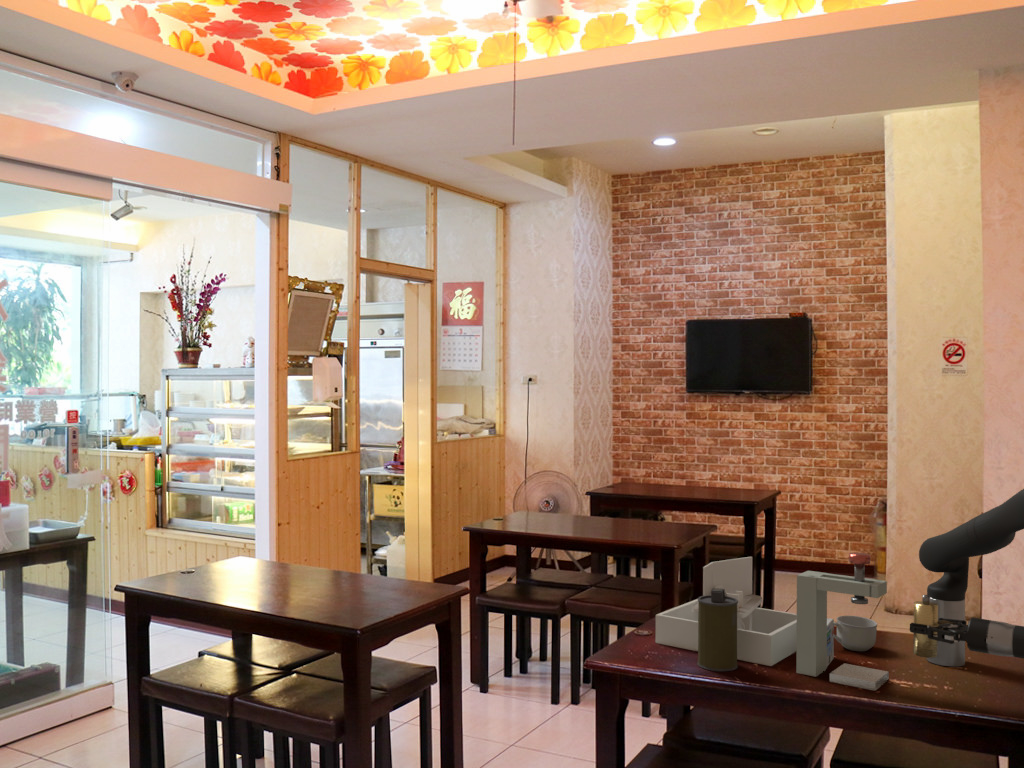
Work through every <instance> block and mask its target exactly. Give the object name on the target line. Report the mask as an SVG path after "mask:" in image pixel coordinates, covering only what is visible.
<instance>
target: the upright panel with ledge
mask: <svg viewBox="0 0 1024 768" xmlns="http://www.w3.org/2000/svg"><path fill="white" fill-rule="evenodd" d="M713 588H719V589H725V593H726V594H727V595H726V594H725V595H726V596H728V597H732V598H735V599H737V600H738V603H737V628H738V629H744V630H749V631H752V611H753V610H754V609H755V608H759V606H760V605H761V604H762V603H763V597H762V596H760V595H756V594H753V556H747V557H739V558H730V559H725V560H719V561H718V560H717V561H711V562H709V563H707V564H706V565H704V566H702V596H706V595H711V591H712V589H713ZM692 612H693V613H698V603H697V604H696V605H694V606H693V607H692Z"/></svg>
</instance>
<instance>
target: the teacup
mask: <svg viewBox="0 0 1024 768" xmlns="http://www.w3.org/2000/svg"><path fill="white" fill-rule="evenodd" d="M835 626H836V634H834V640H836V641H837V642H838V643H840V644H841V646H842V647H843V648H845V649H847V650H849V651H854V652H866V651H869V650H870V649H871V648H872V647H873V648H874V645H876V641H877V629H878V628H877V626H878V623H877V621H875V620H873V619H871V618H868V617H863V616H860V615H859V616H857V615H852V614H851V615H849V614H848V615H840V616H837V617H836V621H834V627H835Z"/></svg>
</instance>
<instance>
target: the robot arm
mask: <svg viewBox="0 0 1024 768" xmlns="http://www.w3.org/2000/svg"><path fill="white" fill-rule="evenodd" d="M1022 530H1024V488H1022V489H1020V490H1019V491H1017V492H1016V493H1015V494H1014V495H1013V496H1011V497H1009V498H1008V499H1007V500H1006V501H1004V502H1003V503H1001V504H1000V505H997V506H995V507H993V508H991V509H989V510H987V511H985V512H983V513H981V514H979V515H977V516H975V517H973V518H971V519H969V520H967V521H966V522H964V523H962V524H960V525H958V526H956V527H955V528H952V529H951V530H949V531H947V532H945V533H942V534H939V535H936V536H935V535H934V536H932V537H929V538H927V539H926V540H924V541H923V542H922V544H921V545H920V548H919V550H918V559H919V561H920V564H921V566H923V568H925V569H926V570H927V571H929V572H933V573H943V575H942V576H941V577H940V578H939V579H938V580H936V581H934V582H932V583H930V584H929V585H928V586H927V587H926V595H929V596H930V602H932V603H936V604H938V625H937V626H934V625H924V624H918V623H914V622H911V623H909V631H910V633H912V634H914V633H918V634H924V635H927V636H928V639H933V640H937V641H938V642H937V657H934V658H926V660H927V661H928V662H930V663H931V664H935V665H938V666H942V667H943V666H945V667H962V666H965V665H966V645H967V648H968V651H970V652H976V653H982V654H987V655H993V656H1000V657H1011V658H1012V657H1013V658H1018V659H1023V660H1024V625H1017V624H1011V623H1009V622H1005V621H997V620H991V619H986V618H985V619H984V618H978V617H970V619H969V620H968V623H967V621H966V594H967V593H966V592H967V590H968V586H969V585H968V583H969V571H970V570H969V568H970V567H969V566H970V558H973V557H974V558H975V557H980V556H985V555H988V554H992V553H995V552H997V551H999V550H1002V549H1004V548H1006V547H1007V546H1009V545H1010V544H1011V543H1012V542H1013V541H1014V540H1015V537H1016V533H1017V532H1019V531H1022ZM933 631H935V632H937V634H933Z"/></svg>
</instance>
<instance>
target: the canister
mask: <svg viewBox="0 0 1024 768" xmlns="http://www.w3.org/2000/svg"><path fill="white" fill-rule="evenodd" d="M725 594H726V593H725V589H719V588H713V589H712V591H711V595H706V596H703V595H701V596H698V597H697V599H698V651H697V663H696V664H697V667H700V668H701V669H704V670H707V671H712V672H730V671H734V670H736V669H738V667H739V665H738V659H737V603H738V600H737V599H735V598H732V597H728V596H726V595H727V594H726V595H725Z"/></svg>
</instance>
